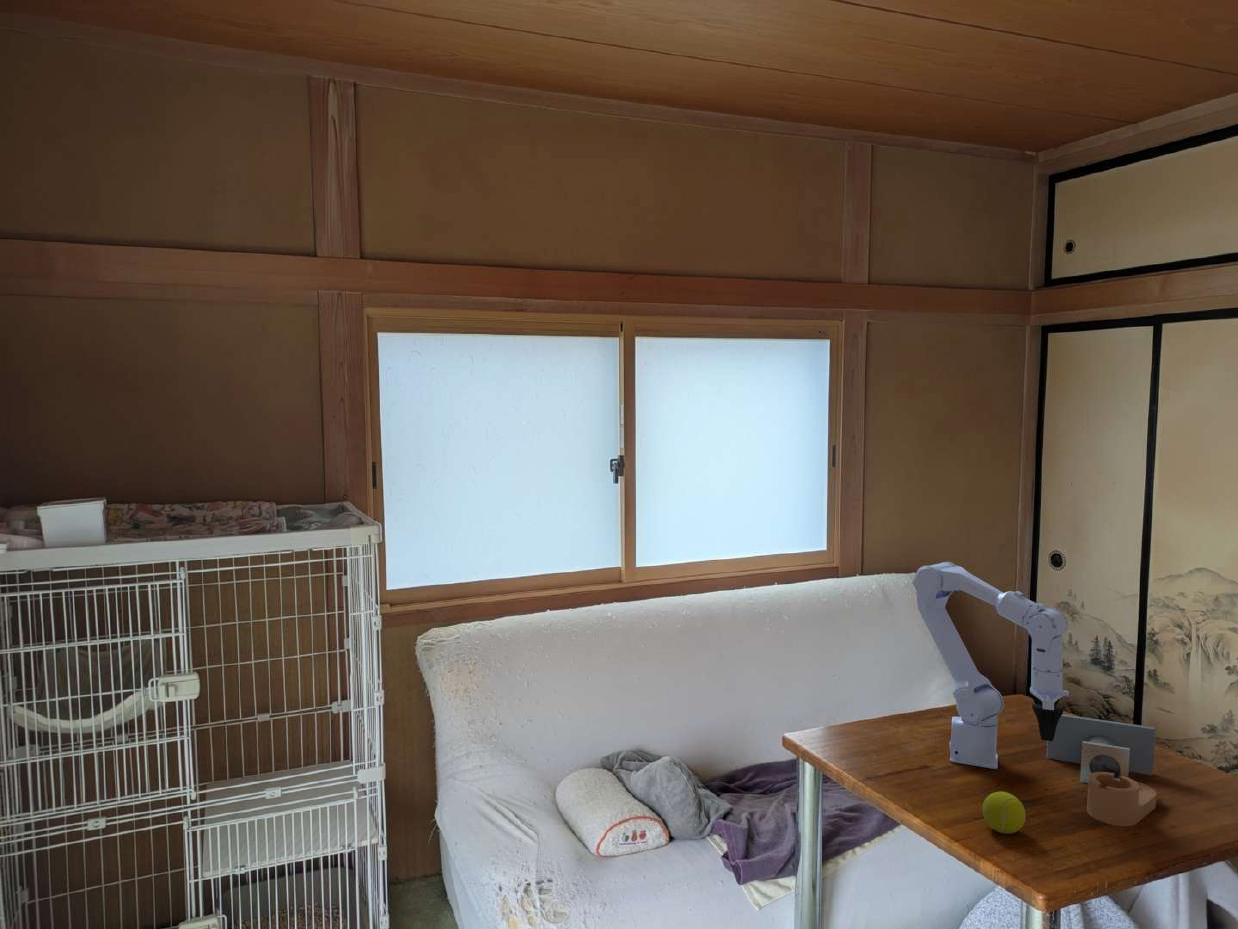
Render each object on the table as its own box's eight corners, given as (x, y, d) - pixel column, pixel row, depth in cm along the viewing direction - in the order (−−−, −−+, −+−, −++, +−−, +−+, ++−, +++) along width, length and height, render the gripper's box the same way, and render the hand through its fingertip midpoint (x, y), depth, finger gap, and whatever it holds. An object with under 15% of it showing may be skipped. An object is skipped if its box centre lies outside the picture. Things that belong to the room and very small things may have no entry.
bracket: (1127, 832, 155) (1129, 795, 155) (1079, 814, 162) (1081, 779, 161) (1162, 803, 167) (1164, 769, 167) (1116, 788, 173) (1117, 755, 173)
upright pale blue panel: (1049, 777, 178) (1051, 730, 177) (1046, 756, 189) (1048, 712, 188) (1160, 796, 170) (1163, 747, 169) (1151, 773, 180) (1154, 727, 180)
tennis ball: (1032, 837, 153) (1034, 799, 152) (1002, 843, 150) (1004, 805, 150) (1002, 819, 159) (1004, 783, 159) (973, 825, 157) (975, 788, 156)
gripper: (1071, 680, 165) (1070, 749, 166) (1066, 661, 179) (1065, 725, 179) (1031, 676, 168) (1030, 743, 169) (1029, 658, 181) (1028, 720, 182)
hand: (1046, 734), depth 174 cm, fingers open, 7 cm apart
